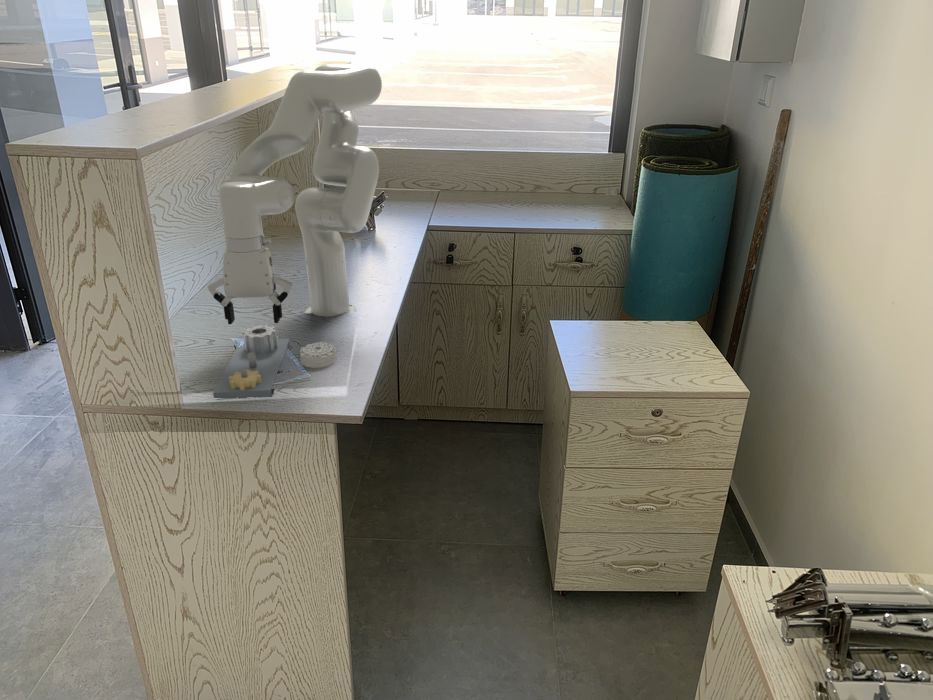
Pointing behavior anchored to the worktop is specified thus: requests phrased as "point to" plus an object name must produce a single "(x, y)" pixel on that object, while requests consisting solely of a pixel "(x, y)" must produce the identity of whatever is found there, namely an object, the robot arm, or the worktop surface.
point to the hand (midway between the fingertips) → (254, 321)
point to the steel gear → (260, 339)
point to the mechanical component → (318, 355)
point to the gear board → (263, 369)
